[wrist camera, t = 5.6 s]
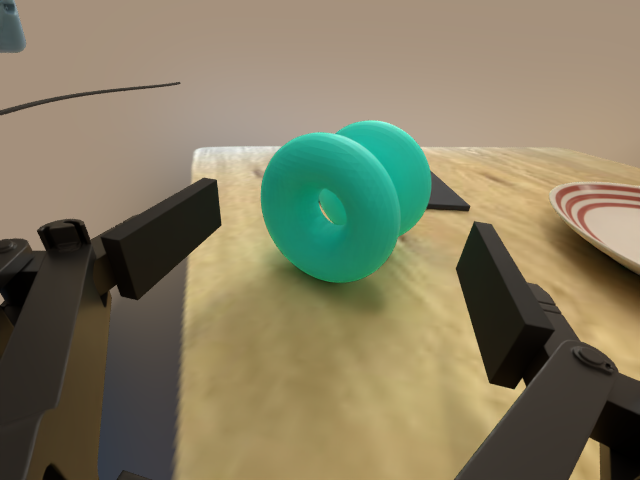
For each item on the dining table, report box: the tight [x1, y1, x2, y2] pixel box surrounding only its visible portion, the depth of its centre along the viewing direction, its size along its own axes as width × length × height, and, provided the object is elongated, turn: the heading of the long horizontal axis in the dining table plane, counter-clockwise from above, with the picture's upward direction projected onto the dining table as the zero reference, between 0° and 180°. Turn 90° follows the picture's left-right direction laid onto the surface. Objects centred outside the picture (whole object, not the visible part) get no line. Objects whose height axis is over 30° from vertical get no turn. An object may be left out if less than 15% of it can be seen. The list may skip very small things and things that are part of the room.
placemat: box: [319, 171, 470, 211], centre depth 42 cm, size 20×20×1 cm
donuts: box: [261, 120, 431, 283], centre depth 22 cm, size 10×10×10 cm
